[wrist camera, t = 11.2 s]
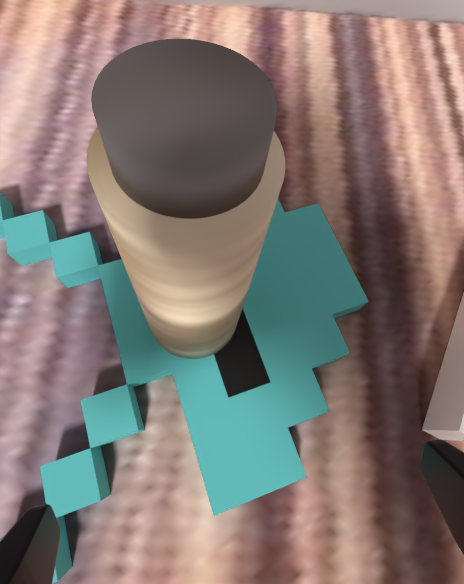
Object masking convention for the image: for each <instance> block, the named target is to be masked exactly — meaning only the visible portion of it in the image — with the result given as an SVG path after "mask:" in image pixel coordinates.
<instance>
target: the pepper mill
mask: <svg viewBox="0 0 464 584" xmlns="http://www.w3.org/2000/svg"><path fill="white" fill-rule="evenodd" d="M91 100H92V109H93V112H94V116H95V119H96V122H97V125H98V127H97V128H96V130H95V131H94V134H93V136H92V138H91V140H90V143H89V147H88V151H87V170H88V174H89V178H90V181H91V184H92V186H93V189H94V191H95V194H96V196H97V199H98V201H99V204H100V206H101V209H102V211H103V214H104V216H105V219H106V221H107V223H108V226H109V228H110V231H111V233H112V236H113V238H114V241H115V243H116V246H117V248H118V251H119V253H120V256H121V258H122V261H123V263H124V266H125V268H126V271H127V273H128V276H129V278H130V281H131V283H132V285H133V288H134V290H135V293H136V295H137V298H138V300H139V303H140V305H141V308H142V310H143V313H144V315H145V318H146V320H147V323H148V325H149V328H150V330H151V332H152V335H153V337H154V338H155V340H156V342H157V343H158V344H159V345H160V346H161V347H162V348H163V349H164V350H166V351H167V352H169V353H170V354H173V355H175V356H177V357H180V358H185V359H200V358H205V357H208V356H211V355H213V354H215V353H217V352H218V351H220V350H221V349H222V348H223V347H225V346H226V345H227V343H228V342H229V341H230V339H231V338H232V336H233V334H234V332H235V329H236V326H237V323H238V320H239V317H240V314H241V311H242V308H243V305H244V302H245V298H246V295H247V292H248V289H249V286H250V283H251V280H252V277H253V274H254V271H255V268H256V264H257V261H258V258H259V255H260V252H261V249H262V246H263V243H264V240H265V237H266V233H267V230H268V227H269V224H270V221H271V218H272V215H273V212H274V209H275V206H276V202H277V199H278V196H279V193H280V190H281V187H282V184H283V181H284V176H285V156H284V151H283V148H282V145H281V142H280V140H279V138H278V136H277V135H276V133H275V131H274V127H275V123H276V119H277V113H278V101H277V96H276V93H275V90H274V88H273V86H272V84H271V82H270V80H269V79H268V78H267V76H266V75H265V74H264V72H263V71H262V70H261V69H260V68H259V67H258V66H257V65H255V64H254V63H253V62H252V61H250V60H249V59H247V58H246V57H244V56H243V55H241V54H239V53H237V52H235V51H233V50H231V49H228V48H226V47H223V46H221V45H217V44H214V43H210V42H205V41H200V40H192V39H166V40H158V41H153V42H148V43H145V44H142V45H138V46H136V47H133V48H131V49H129V50H127V51H125V52H123V53H121V54H120V55H118V56H117V57H115V58H114V59H113V60H111V61H110V62H109V63H108V64H107V65H106V66H105V67H104V68H103V70H102V71H101V72H100V74H99V75H98V77H97V79H96V81H95V83H94V87H93V90H92V99H91Z"/></svg>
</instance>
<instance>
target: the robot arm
mask: <svg viewBox="0 0 464 584" xmlns="http://www.w3.org/2000/svg"><path fill="white" fill-rule="evenodd" d="M420 470H421V474H422V476H423V478H424V480H425V482H426V484H427V486H428V488H429V490H430V492H431V494H432V496H433V498H434V500H435V502H436V504H437V506H438V508H439V510H440V512H441V514H442V516H443V518H444V520H445V522H446V524H447V526H448V528H449V530H450V531H451V533H452V535H453V537H454V539H455V541H456V543H457V544H458V546H459V548H460V549H461V551H462V553H463V554H464V452H462V451H461V450H459V449H457V448H456V447H454V446H452V445H451V444H449V443H447V442H446V441H443V440H433V441H428V442H426V443H425V444H424V447H423V451H422V456H421V460H420ZM59 541H60V526H59V523H58V521H57V518H56V516H55V513H54V511H53V509H52V507H51V505H49V504H43V505H37V506H32V507H30V508H29V509H28V510H27V511H26V512H25V513H24V514H23V515H22V516H21V517H20V519H19V520H18V521H17V522H16V523H15V524H14V526H13V527H12V528H11V529H10V530H9V531H8V533H7V534H6V535H5V536H4V537H3V538H2V540H1V541H0V584H52V582H53V576H54V570H55V564H56V558H57V552H58V547H59Z"/></svg>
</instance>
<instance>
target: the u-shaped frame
mask: <svg viewBox="0 0 464 584" xmlns="http://www.w3.org/2000/svg"><path fill="white" fill-rule="evenodd" d="M422 430H423V431H425V432H427V433H429V434H431V435H433V436H434V437H436V438H438V439H440V440H454V441H464V293H463V296H462V299H461V303H460V306H459V309H458V312H457V316H456V319H455V322H454V326H453V329H452V332H451V335H450V339H449V342H448V345H447V349H446V352H445V355H444V358H443V362H442V365H441V368H440V372H439V375H438V378H437V381H436V385H435V388H434V391H433V395H432V398H431V401H430V404H429V408H428V411H427V414H426V418H425V421H424V424H423V427H422Z"/></svg>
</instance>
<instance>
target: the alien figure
mask: <svg viewBox="0 0 464 584" xmlns="http://www.w3.org/2000/svg"><path fill="white" fill-rule="evenodd" d="M4 237H5V239H6V245H7V252H8V254H9V255H10V256H11V257H12V258H14V259H15V260H16V261H17V262H18V263H20V264H21V265H22V266H23V265H27V264H31V263H34V262H38V261H41V260H45V259H49V258H53V263H54V268H55V273H56V278H57V279H59V280H60V281H61V282H62V283H63V284H64V285H65V286H66V287H67V288H70V287H73V286H77V285H80V284H83V283H87V282H90V281H94V280H97V279H101V280H102V284H103V288H104V293H105V297H106V301H107V305H108V309H109V313H110V317H111V321H112V325H113V329H114V333H115V337H116V342H117V346H118V350H119V354H120V358H121V362H122V366H123V370H124V374H125V378H126V382H127V384H126V385H123V386H120V387H118V388H115V389H112V390H109V391H106V392H103V393H100V394H97V395H94V396H91V397H88V398H85V399H82V400H81V404H82V409H83V414H84V419H85V424H86V429H87V434H88V439H89V444H90V448H89V449H87V450H84V451H81V452H78V453H76V454H73V455H70V456H68V457H65V458H62V459H59V460H57V461H54V462H51V463H48V464H46V465H43V466H40V469H41V475H42V482H43V488H44V495H45V502H46V504H49V505H51V507H52V509H53V511H54V513H55V516H56V518H57V521H58V523H59V526H60V541H59V547H58V552H57V558H56V564H55V570H54V576H53V582H52V583H55V582H57V581H58V580H59V579H60V578H61V577H62V576H63V575H64V574H65V573H66V572H67V571H68V570H69V569H70V568H71V567H72V561H71V555H70V549H69V543H68V537H67V531H66V525H65V519H64V515H65V514H68V513H71V512H73V511H76V510H78V509H81V508H83V507H86V506H89V505H91V504H94V503H96V502H99V501H101V500H103V499H104V498H106V497H107V496H109V495H110V494H111V492H110V488H109V483H108V478H107V473H106V468H105V464H104V459H103V454H102V449H101V446H103V445H105V444H108V443H111V442H114V441H116V440H119V439H122V438H124V437H127V436H130V435H133V434H135V433H138V432H141V431H144V430H145V429H144V425H143V421H142V417H141V413H140V410H139V406H138V402H137V398H136V394H135V390H134V387H137V386H140V385H143V384H145V383H148V382H151V381H154V380H157V379H160V378H163V377H166V376H169V375H172V374H173V377H174V380H175V384H176V387H177V390H178V394H179V397H180V401H181V404H182V408H183V411H184V415H185V418H186V421H187V425H188V428H189V432H190V435H191V439H192V442H193V446H194V449H195V452H196V456H197V459H198V463H199V466H200V470H201V473H202V476H203V480H204V483H205V487H206V490H207V494H208V497H209V501H210V504H211V507H212V511H213V514H214V516H215V515H217V514H219V513H222V512H224V511H227V510H229V509H231V508H234V507H236V506H239V505H241V504H243V503H246V502H248V501H251V500H253V499H255V498H258V497H260V496H263V495H265V494H267V493H270V492H272V491H274V490H277V489H279V488H282V487H284V486H286V485H289V484H291V483H294V482H296V481H298V480H301V479H303V478H306V477H307V476H306V474H305V471H304V469H303V466H302V463H301V461H300V458H299V455H298V453H297V450H296V447H295V445H294V442H293V440H292V437H291V434H290V432H289V429H288V427H291V426H293V425H296V424H299V423H301V422H304V421H306V420H309V419H311V418H314V417H317V416H319V415H322V414H324V413H327V412H329V411H330V410H329V408H328V405H327V403H326V401H325V398H324V396H323V394H322V391H321V389H320V387H319V384H318V382H317V379H316V377H315V375H314V372H313V370H312V369H313V368H316V367H319V366H321V365H324V364H327V363H330V362H332V361H335V360H338V359H340V358H342V357H344V356H346V355H348V354H350V351H349V349H348V347H347V345H346V343H345V340H344V338H343V336H342V334H341V332H340V330H339V328H338V325H337V323H336V321H335V319H334V318H337V317H340V316H343V315H346V314H349V313H352V312H354V311H357V310H359V309H360V308H361V307H363V306H364V305H365V304H366V303H368V302H369V301H368V299H367V297H366V295H365V293H364V291H363V289H362V287H361V285H360V283H359V281H358V279H357V278H356V276H355V274H354V272H353V270H352V268H351V266H350V264H349V262H348V260H347V258H346V256H345V254H344V252H343V250H342V248H341V246H340V244H339V242H338V240H337V238H336V236H335V234H334V232H333V230H332V228H331V227H330V225H329V223H328V221H327V219H326V217H325V215H324V213H323V211H322V209H321V207H320V205H319V203H316V204H313V205H309V206H306V207H302V208H299V209H295V210H292V211H288V212H284V210H283V208H282V205H281V203H280V201H279V199H277V202H276V206H275V209H274V212H273V215H272V218H271V221H270V224H269V227H268V230H267V233H266V237H265V240H264V243H263V246H262V249H261V252H260V255H259V258H258V261H257V264H256V268H255V271H254V274H253V277H252V280H251V283H250V286H249V289H248V292H247V295H246V298H245V302H244V305H243V308H242V311H241V314H240V317H239V320H238V323H237V326H236V329H235V332H234V334H233V336H232V338H231V339H230V341H229V342H228V343H227V345H226V346H225V347H223V348H222V349H221V350H220V351H218V352H217V353H215V354H213V355H211V356H208V357H205V358H200V359H185V358H180V357H177V356H175V355H173V354H170V353H169V352H167V351H166V350H164V349H163V348H162V347H161V346H160V345H159V344H158V343H157V342H156V340H155V338H154V337H153V335H152V332H151V330H150V328H149V325H148V323H147V320H146V318H145V315H144V313H143V310H142V308H141V305H140V303H139V300H138V298H137V295H136V293H135V290H134V288H133V285H132V283H131V281H130V278H129V276H128V273H127V271H126V268H125V266H124V263H123V261H122V259H120V260H116V261H113V262H109V263H106V264H103V262H102V258H101V254H100V250H99V246H98V244H97V242H96V241H95V239H94V238H93V236H92V235H91V233H90V232H87V233H83V234H79V235H76V236H72V237H68V238H65V239H61V240H58V239H57V234H56V229H55V224H54V223H53V222H52V221H51V219H50V218H49V217H48V216H47V214H46V213H45V212H44V211H43V210H41V211H37V212H33V213H29V214H25V215H21V216H18V217H14V212H13V206H12V204H11V203H10V202H9V201H8V199H7V198H6V197H5V196H4V195H3V194H2V193H1V192H0V238H4ZM1 540H2V538H1V539H0V541H1Z"/></svg>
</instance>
